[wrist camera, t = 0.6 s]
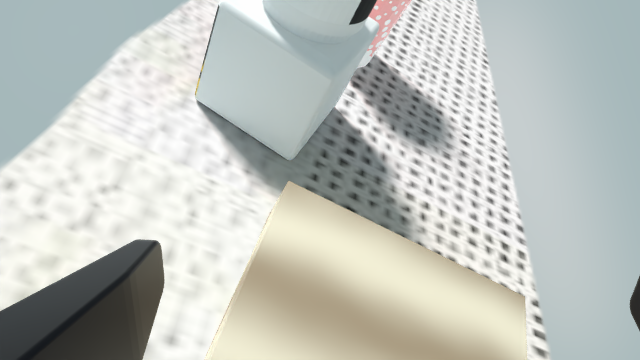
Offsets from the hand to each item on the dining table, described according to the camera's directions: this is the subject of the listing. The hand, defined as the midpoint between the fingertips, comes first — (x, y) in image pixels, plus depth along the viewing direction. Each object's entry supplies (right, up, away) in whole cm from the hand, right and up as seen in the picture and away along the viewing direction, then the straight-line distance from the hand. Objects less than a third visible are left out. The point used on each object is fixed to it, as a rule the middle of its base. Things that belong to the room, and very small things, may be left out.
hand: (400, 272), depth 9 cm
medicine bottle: (-5, +7, +23) cm, 24 cm away
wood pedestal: (0, -7, +14) cm, 16 cm away
